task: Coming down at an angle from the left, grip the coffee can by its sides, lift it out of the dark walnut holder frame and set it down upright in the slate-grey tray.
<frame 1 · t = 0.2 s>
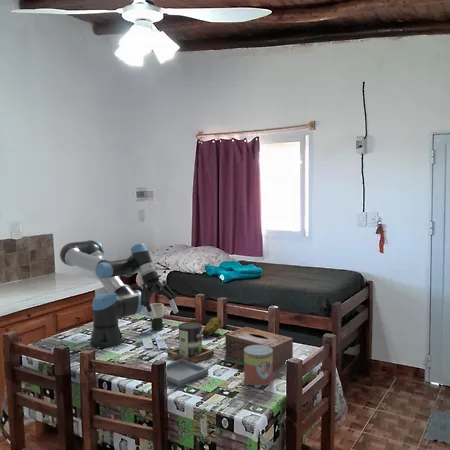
hand: (165, 315, 217), 16 cm above the table, tool tilted 35°, fingers open, 13 cm apart
canned food: (258, 380, 184), on the table
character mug: (157, 329, 249), on the table
coffee can: (190, 356, 209), resting in holder frame
holder frame: (190, 356, 209), on the table
tray: (180, 375, 189), on the table
tissue box cover: (258, 359, 207), on the table
potato: (211, 334, 239), on the table
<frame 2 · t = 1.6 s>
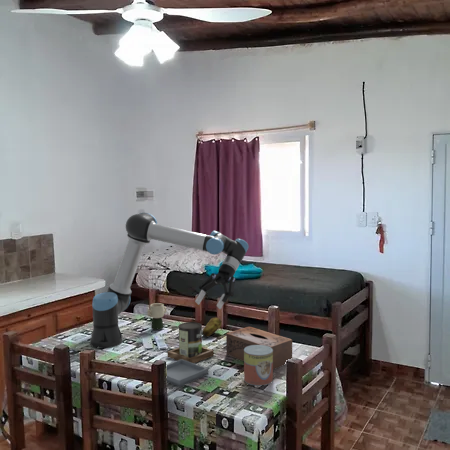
hand: (207, 305, 215), 21 cm above the table, tool tilted 45°, fingers open, 13 cm apart
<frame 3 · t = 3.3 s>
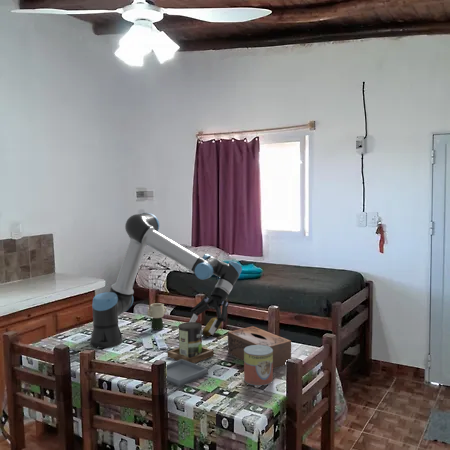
hand: (199, 330, 211), 11 cm above the table, tool tilted 45°, fingers open, 13 cm apart
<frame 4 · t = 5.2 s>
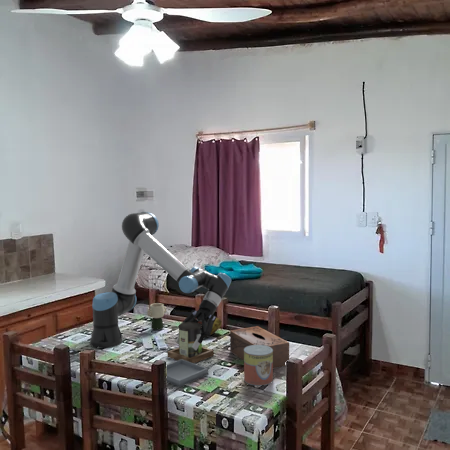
hand: (185, 346, 206), 6 cm above the table, tool tilted 45°, fingers closed on coffee can, 10 cm apart
coffee can: (190, 356, 209), resting in holder frame, touching gripper
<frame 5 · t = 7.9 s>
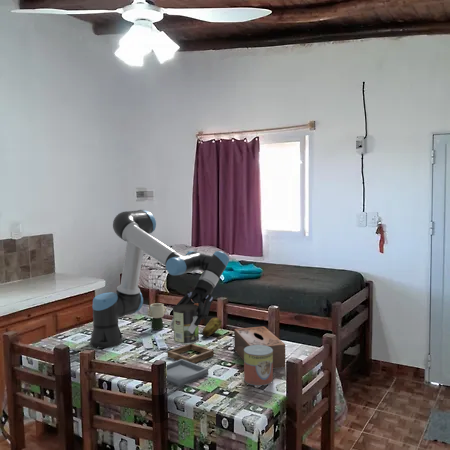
hand: (180, 329, 190), 18 cm above the table, tool tilted 45°, fingers closed on coffee can, 10 cm apart
coffee can: (186, 341, 193), point 12 cm above the table, touching gripper
when the fingers open (8 cm above the table, at t = 10.7 s): coffee can drops 1 cm, resting on tray.
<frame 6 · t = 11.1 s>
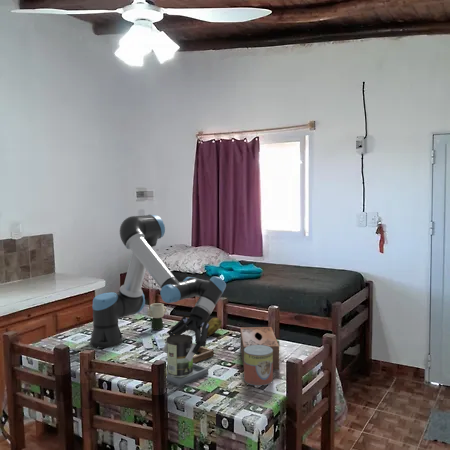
hand: (175, 355, 186), 9 cm above the table, tool tilted 45°, fingers open, 13 cm apart
coffee can: (180, 373, 189), point 1 cm above the table, touching tray
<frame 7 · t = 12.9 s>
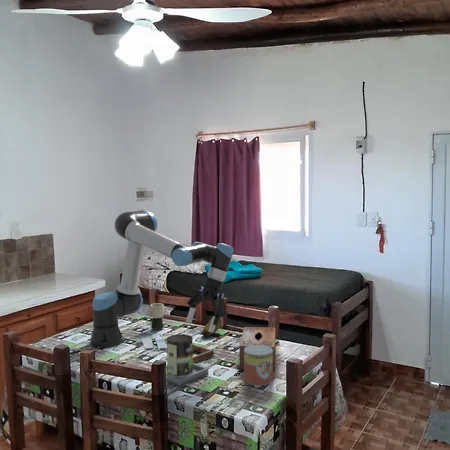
hand: (199, 327, 200), 16 cm above the table, tool tilted 25°, fingers open, 13 cm apart
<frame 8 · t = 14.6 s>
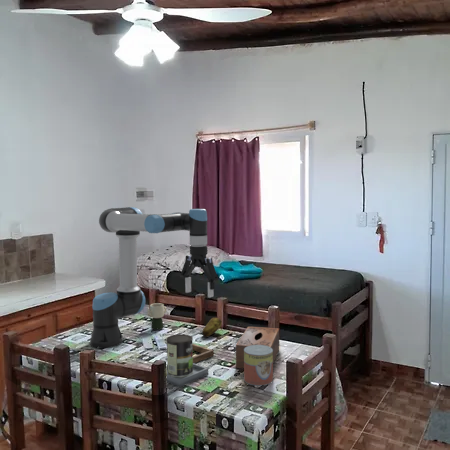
hand: (199, 294, 203), 29 cm above the table, tool pointing down, fingers open, 13 cm apart
at the end: coffee can inside the target area on the tray (0.3 cm from its centre), point 0.8 cm above the tray's base; coffee can tilted 0°; the gripper is holding nothing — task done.
